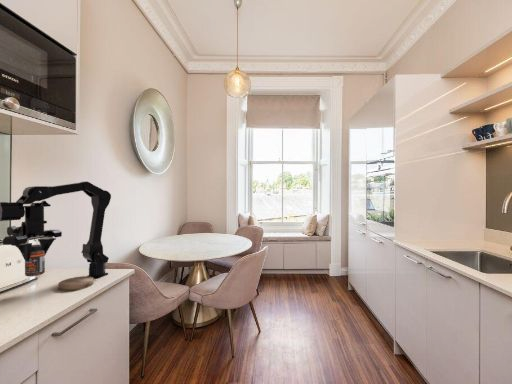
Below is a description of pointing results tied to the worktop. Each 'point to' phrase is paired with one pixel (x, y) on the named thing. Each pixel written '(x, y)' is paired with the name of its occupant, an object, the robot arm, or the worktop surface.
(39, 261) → the supplement bottle
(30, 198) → the robot arm
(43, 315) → the worktop surface
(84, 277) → the walnut plinth
